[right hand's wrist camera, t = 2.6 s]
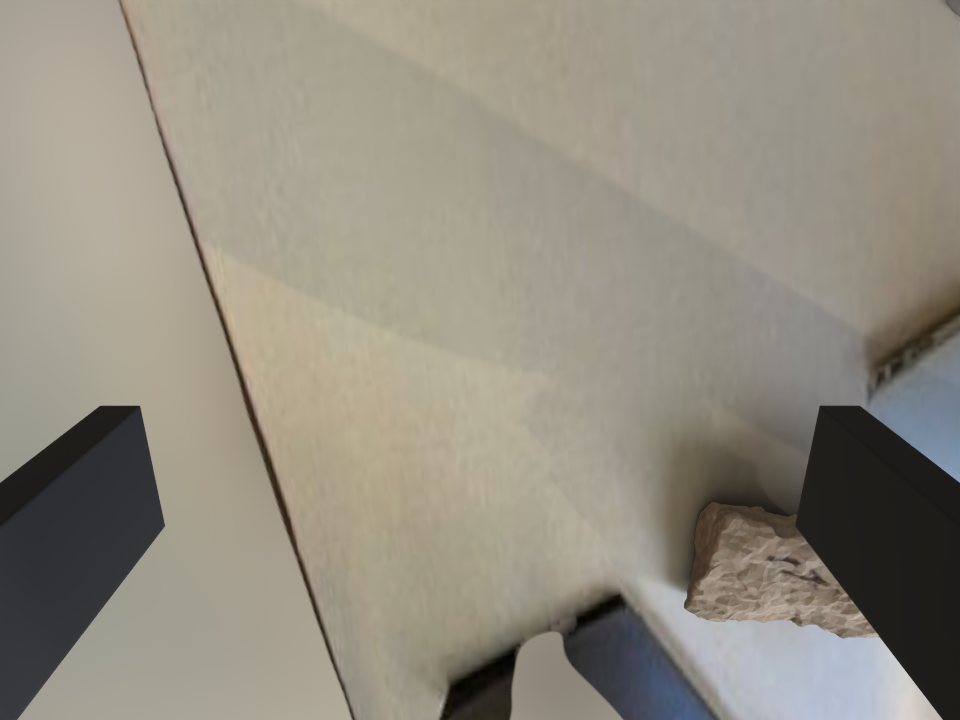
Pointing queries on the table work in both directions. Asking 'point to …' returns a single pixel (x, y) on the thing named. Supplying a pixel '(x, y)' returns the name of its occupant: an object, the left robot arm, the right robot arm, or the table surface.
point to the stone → (765, 574)
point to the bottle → (954, 5)
